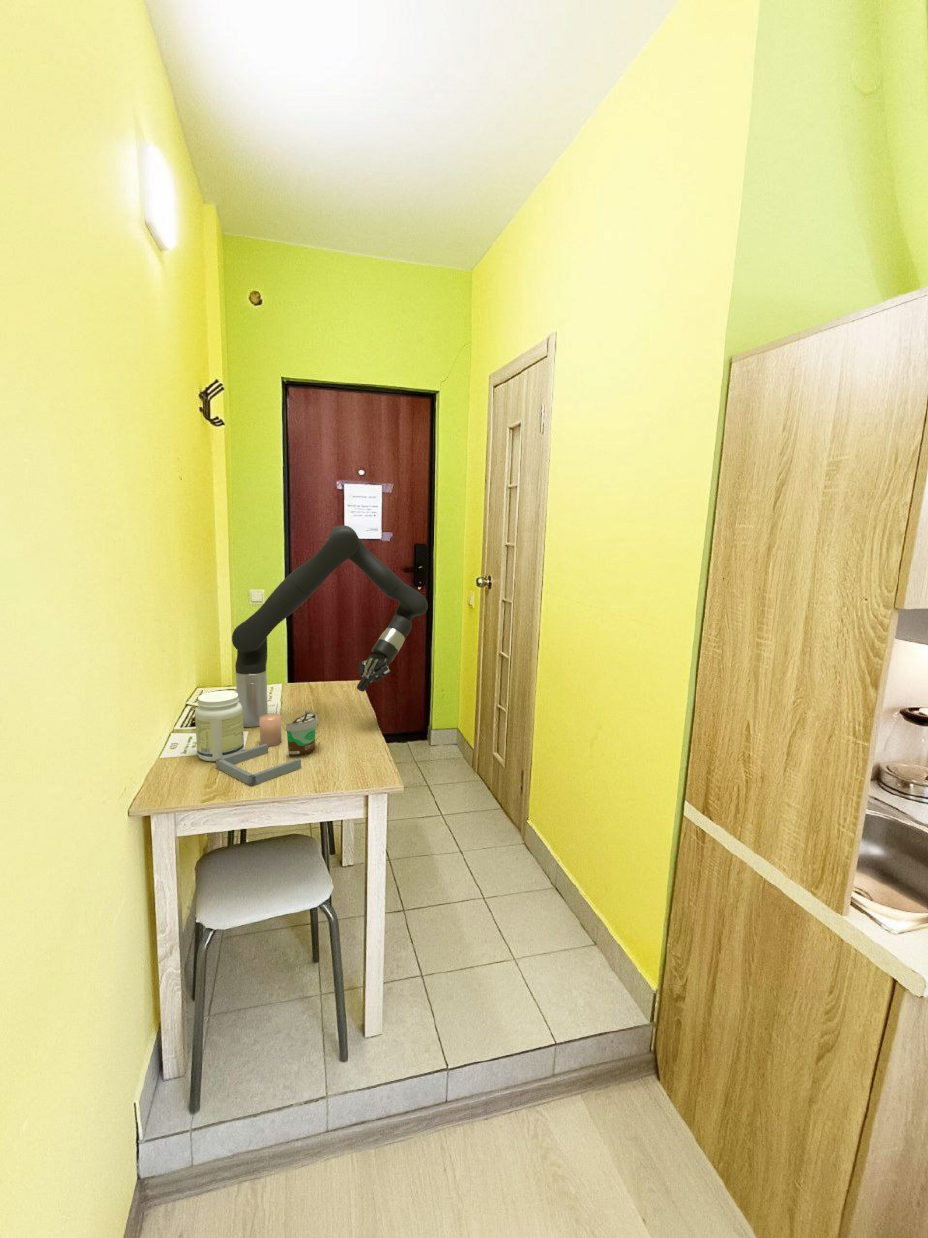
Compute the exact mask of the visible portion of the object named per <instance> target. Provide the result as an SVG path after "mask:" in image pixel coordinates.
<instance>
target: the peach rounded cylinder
mask: <svg viewBox="0 0 928 1238" xmlns="http://www.w3.org/2000/svg"><path fill="white" fill-rule="evenodd" d="M259 719H260V726H259V740H260V745H263V744H267V745H268V748H269V747H277V746H279V745H281V744H282V743H283V742H282V741H283V740H282V739H283V738H282V715H281V714H279V713H268V714H265V715H262V716H260V717H259Z"/></svg>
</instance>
